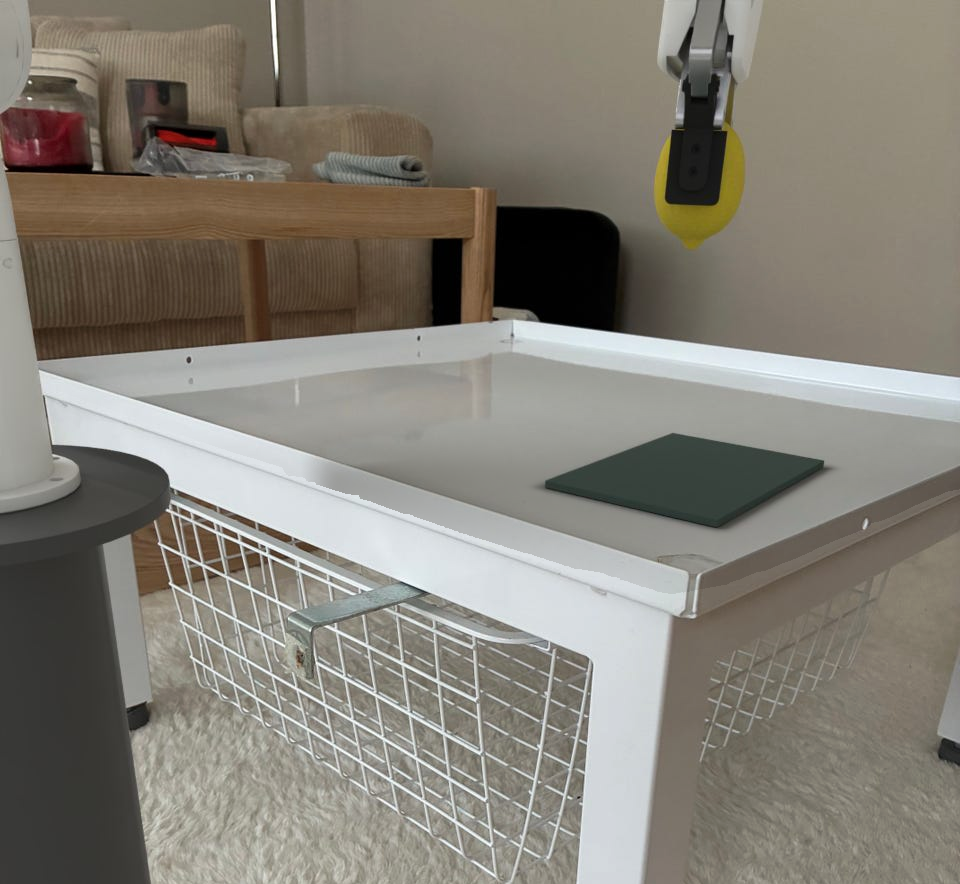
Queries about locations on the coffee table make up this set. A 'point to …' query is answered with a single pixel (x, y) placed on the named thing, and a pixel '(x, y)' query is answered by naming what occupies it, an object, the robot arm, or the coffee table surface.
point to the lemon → (695, 219)
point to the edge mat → (688, 478)
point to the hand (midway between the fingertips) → (696, 201)
